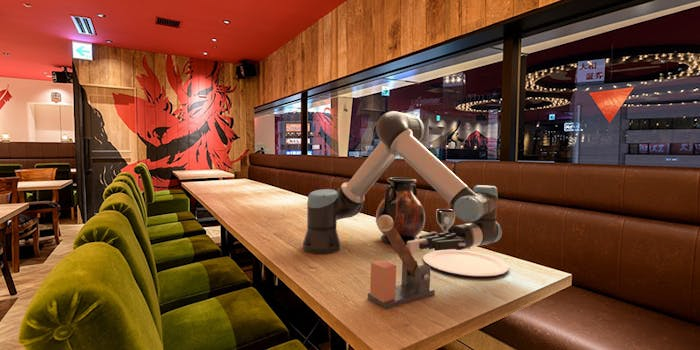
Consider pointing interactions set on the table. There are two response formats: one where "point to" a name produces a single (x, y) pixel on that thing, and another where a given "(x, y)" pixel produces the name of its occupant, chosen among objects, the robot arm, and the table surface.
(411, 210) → the amphora vase
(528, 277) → the table surface
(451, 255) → the plate
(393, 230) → the lever
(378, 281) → the stop block
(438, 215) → the wine glass
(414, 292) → the press base
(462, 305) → the table surface
